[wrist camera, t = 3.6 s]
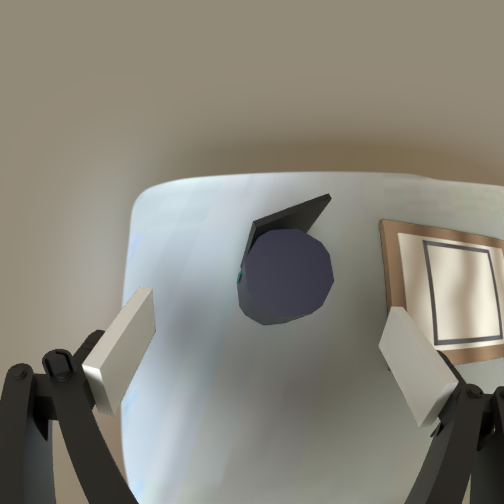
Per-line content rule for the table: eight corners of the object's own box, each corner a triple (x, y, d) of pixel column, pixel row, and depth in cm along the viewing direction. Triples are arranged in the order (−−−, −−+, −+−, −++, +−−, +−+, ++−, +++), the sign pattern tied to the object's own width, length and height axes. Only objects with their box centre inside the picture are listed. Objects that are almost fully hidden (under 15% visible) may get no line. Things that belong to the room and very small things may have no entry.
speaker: (231, 247, 28) (238, 187, 18) (293, 245, 28) (329, 187, 18) (237, 331, 25) (248, 316, 15) (303, 326, 26) (351, 306, 16)
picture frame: (499, 243, 30) (505, 239, 29) (517, 354, 23) (524, 352, 22) (379, 224, 30) (383, 218, 29) (388, 370, 23) (395, 369, 22)
